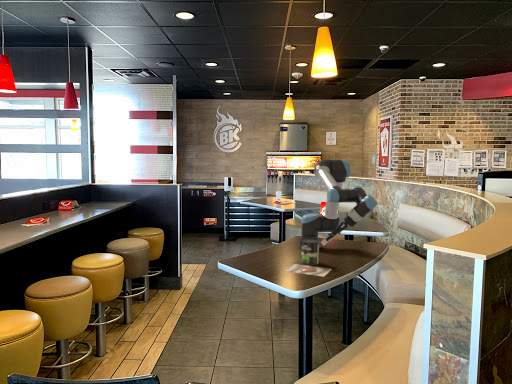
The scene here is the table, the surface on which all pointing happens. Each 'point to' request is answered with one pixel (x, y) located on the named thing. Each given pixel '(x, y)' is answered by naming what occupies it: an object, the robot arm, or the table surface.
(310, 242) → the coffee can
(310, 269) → the terracotta coaster
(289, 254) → the table surface
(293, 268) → the birch board
